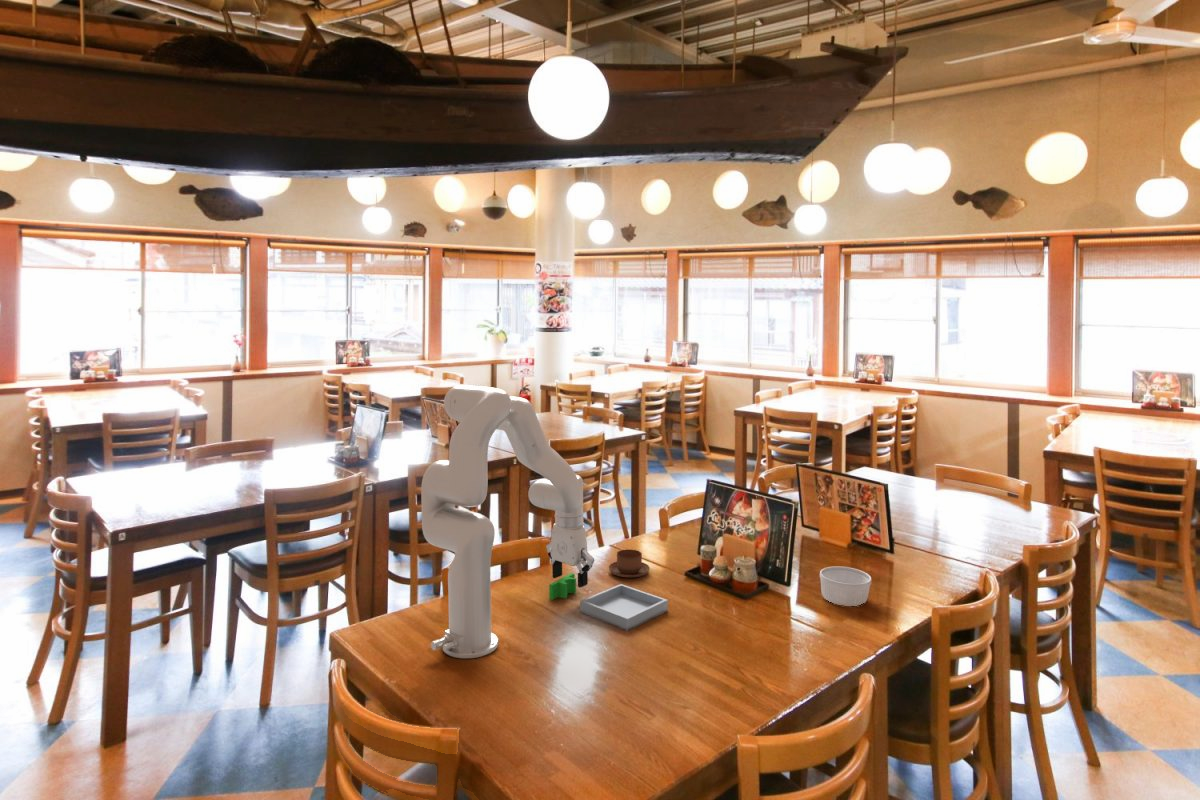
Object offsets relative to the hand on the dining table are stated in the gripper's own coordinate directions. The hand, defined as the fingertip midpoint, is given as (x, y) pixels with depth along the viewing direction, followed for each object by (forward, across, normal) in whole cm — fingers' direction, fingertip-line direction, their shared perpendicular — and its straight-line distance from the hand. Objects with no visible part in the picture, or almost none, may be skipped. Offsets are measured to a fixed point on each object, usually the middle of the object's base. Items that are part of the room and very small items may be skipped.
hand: (569, 581), depth 196 cm
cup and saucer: (+5, +1, +24) cm, 24 cm away
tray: (+4, +18, +2) cm, 19 cm away
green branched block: (+4, -1, -1) cm, 4 cm away
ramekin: (+5, +56, +48) cm, 74 cm away
